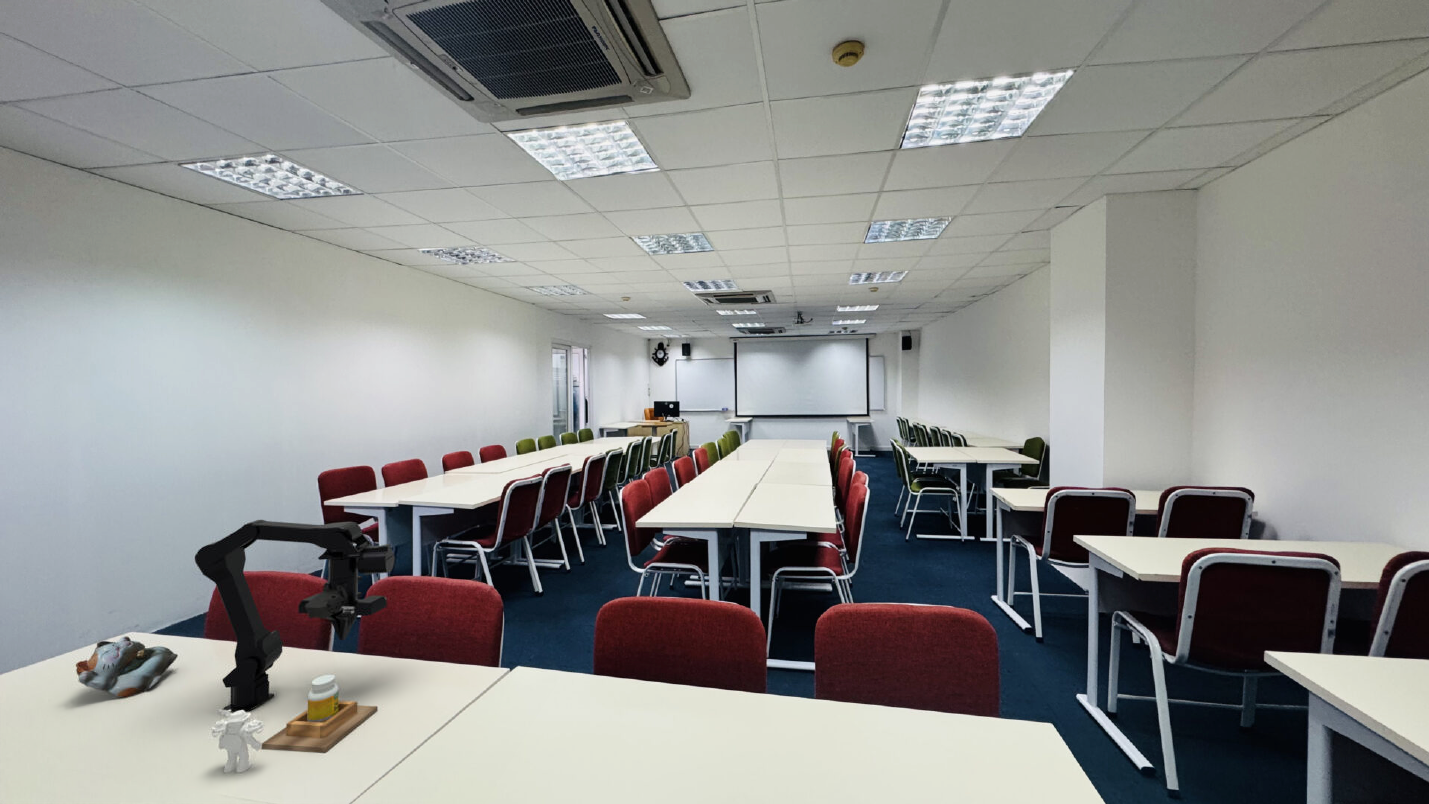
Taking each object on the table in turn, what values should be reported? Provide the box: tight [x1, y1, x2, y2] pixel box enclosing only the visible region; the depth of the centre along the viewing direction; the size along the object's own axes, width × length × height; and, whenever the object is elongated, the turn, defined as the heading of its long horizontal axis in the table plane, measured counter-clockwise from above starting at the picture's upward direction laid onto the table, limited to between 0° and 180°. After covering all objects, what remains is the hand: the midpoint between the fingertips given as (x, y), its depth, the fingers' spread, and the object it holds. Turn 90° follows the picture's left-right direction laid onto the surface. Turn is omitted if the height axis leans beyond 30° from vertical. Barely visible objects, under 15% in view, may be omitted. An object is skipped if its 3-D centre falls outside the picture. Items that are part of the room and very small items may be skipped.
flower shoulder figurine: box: [211, 708, 265, 774], centre depth 97 cm, size 9×4×12 cm, turn 89°
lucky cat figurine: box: [75, 635, 179, 698], centre depth 124 cm, size 15×12×14 cm
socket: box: [261, 700, 379, 754], centre depth 109 cm, size 14×14×4 cm
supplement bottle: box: [306, 674, 340, 723], centre depth 109 cm, size 5×5×10 cm
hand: (342, 639), depth 122 cm, fingers closed
